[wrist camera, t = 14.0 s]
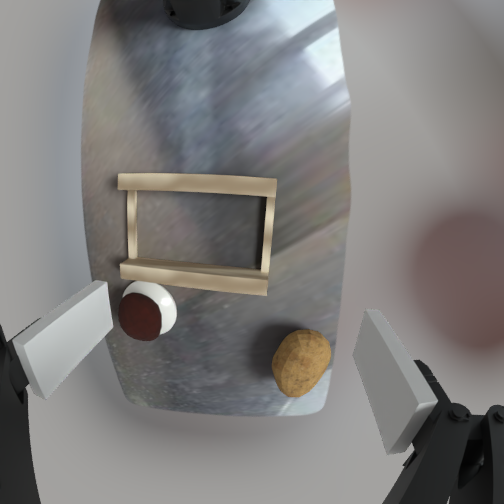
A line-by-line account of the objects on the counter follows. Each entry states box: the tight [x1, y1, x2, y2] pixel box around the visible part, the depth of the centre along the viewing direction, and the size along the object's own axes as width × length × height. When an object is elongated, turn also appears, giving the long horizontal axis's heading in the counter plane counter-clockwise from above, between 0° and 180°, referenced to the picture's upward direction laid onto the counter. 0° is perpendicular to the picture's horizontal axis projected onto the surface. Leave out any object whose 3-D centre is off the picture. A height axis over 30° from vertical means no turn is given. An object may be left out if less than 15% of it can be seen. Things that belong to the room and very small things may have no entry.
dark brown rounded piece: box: [118, 292, 162, 341], centre depth 45 cm, size 8×9×8 cm
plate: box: [123, 281, 177, 334], centre depth 49 cm, size 11×11×1 cm
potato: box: [272, 329, 331, 397], centre depth 46 cm, size 10×14×8 cm
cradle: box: [118, 173, 277, 296], centre depth 43 cm, size 17×24×4 cm
